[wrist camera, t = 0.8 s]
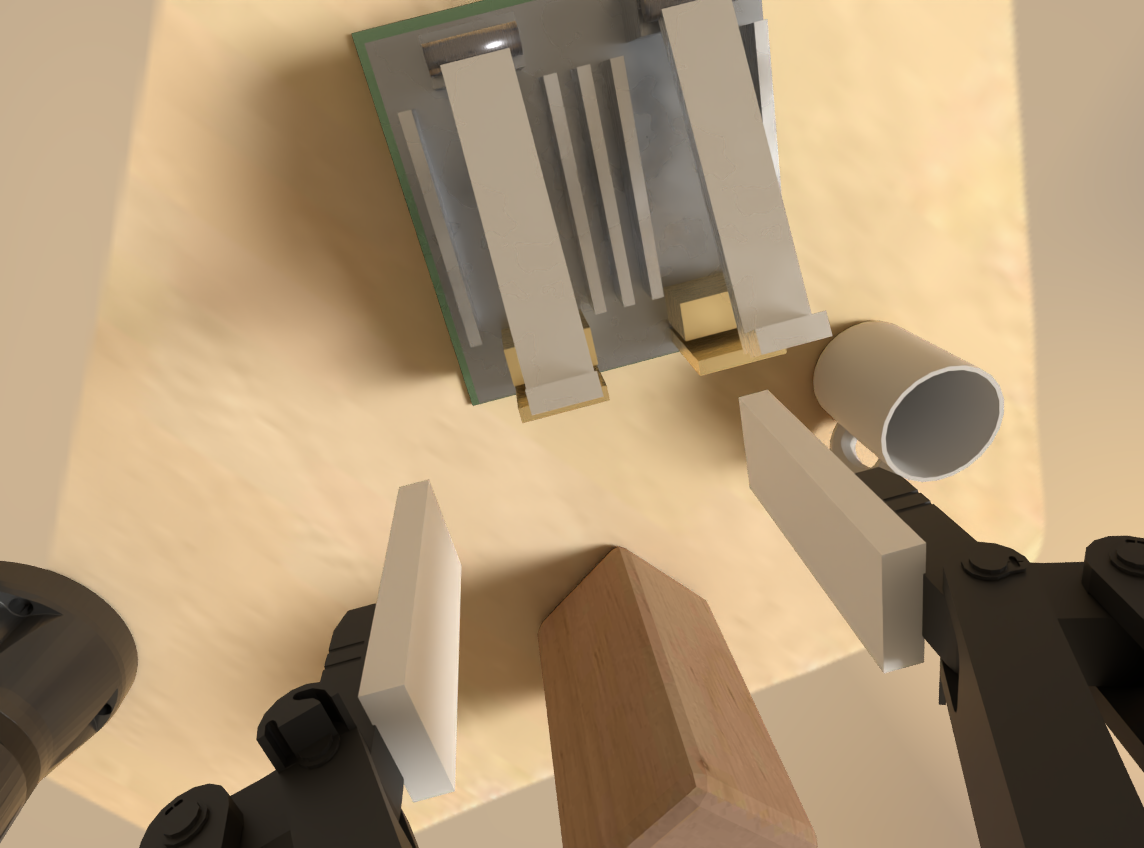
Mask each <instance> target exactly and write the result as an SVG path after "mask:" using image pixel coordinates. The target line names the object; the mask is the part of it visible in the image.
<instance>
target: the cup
mask: <svg viewBox="0 0 1144 848" xmlns="http://www.w3.org/2000/svg"><path fill="white" fill-rule="evenodd" d="M813 386H814V393H815V396H816V398H817V400H818V402H819V404H820V405H821V407H822V408H823V409H824V410H825V411H826V412H827V413H828V414H830V415H831V416H832V417H833V418H834V419H835V420H836V421H837V424H836V426H835V428H834V430H833V433H832V436H831V440H830V451H832V452H833V453H834V454H835V455H836V456H837V457H838V458H839V459H840V460H841V461H842V462H843V463H844V464H845V465H846V466H847V467H848V468H849V469H850V470H851V471H852V472H853V473H858V472H861V471H865V470H869V469H872V468H876V467H880V468H883V469H885V470H888V471H890V472H893V473H895V474H897V475H900V476H902V477H904V478H906V479H908V480H914V481H920V482H926V481H937V480H940V479H943V478H946V477H949V476H952V475H954V474H956V473H958V472H960V471H962V470H963V469H965V468H967V467H968V466H970V465H971V464H972V463H973V462H974V461H976V460H977V459H978V458H979V457H980V456H981V455H982V454H983V453H984V452H985V451H986V449H987V448H988V447H989V446H990V445H991V443H992V442H993V440H994V438H995V436H996V434H997V432H998V431H999V429H1000V425H1001V422H1002V418H1003V415H1004V397H1003V394H1002V391H1001V388H1000V385H999V384H998V383H997V382H996V380H995V379H994V378H993V377H992V376H991V375H990V374H988V373H987V372H985V371H983V370H982V369H980V368H978V367H976V366H974V365H972V364H970V363H968V362H966V361H964V360H963V359H961V358H959V357H957V356H955V355H953V354H951V353H949V352H947V351H945V350H943V349H941V348H939V347H938V346H936V345H934V344H932V343H930V342H928V341H926V340H924V339H922V338H920V337H918V336H916V335H914V334H913V333H911V332H909V331H907V330H905V329H903V328H901V327H899V326H897V325H894V324H892V323H887V322H883V321H868V322H863V323H860V324H857V325H854V326H851V327H850V328H848V329H846V330H845V331H843V332H841V333H840V334H838V335H837V336H836V337H835V338H834V339H833V340H832V341H831V342H830V343H829V344H828V345H827V346H826V348H825V349H824V351H823V352H822V353H821V355H820V357H819V360H818V362H817V365H816V367H815V371H814V378H813ZM857 440H858V441H860V442H861V443H862V444H863V445H864V446H865V447H867V448H868V449H869V450H870V451H872V452H873V453H874V454H875V455H876V456H877V457H878V458H879V459H878V461H877V462H876V464H875V465H874V466H873V467H872V468H870V467H867V466H865V465H864V464H862V463H861V461H860V460H859V458H858V456H857V454H856V450H855V445H856V442H857Z"/></svg>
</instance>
